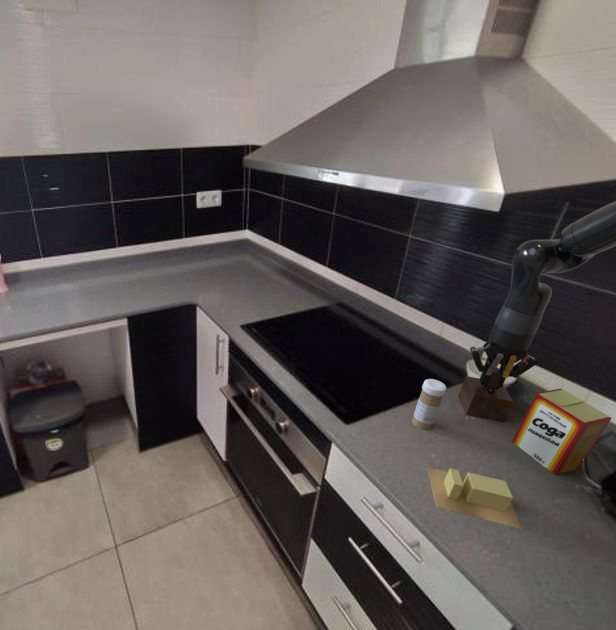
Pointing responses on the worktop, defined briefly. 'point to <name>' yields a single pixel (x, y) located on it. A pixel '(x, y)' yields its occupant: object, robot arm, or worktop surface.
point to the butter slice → (453, 483)
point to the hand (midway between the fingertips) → (489, 386)
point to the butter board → (465, 507)
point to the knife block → (484, 400)
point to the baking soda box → (560, 430)
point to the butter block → (487, 492)
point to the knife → (494, 380)
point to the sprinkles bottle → (428, 403)
